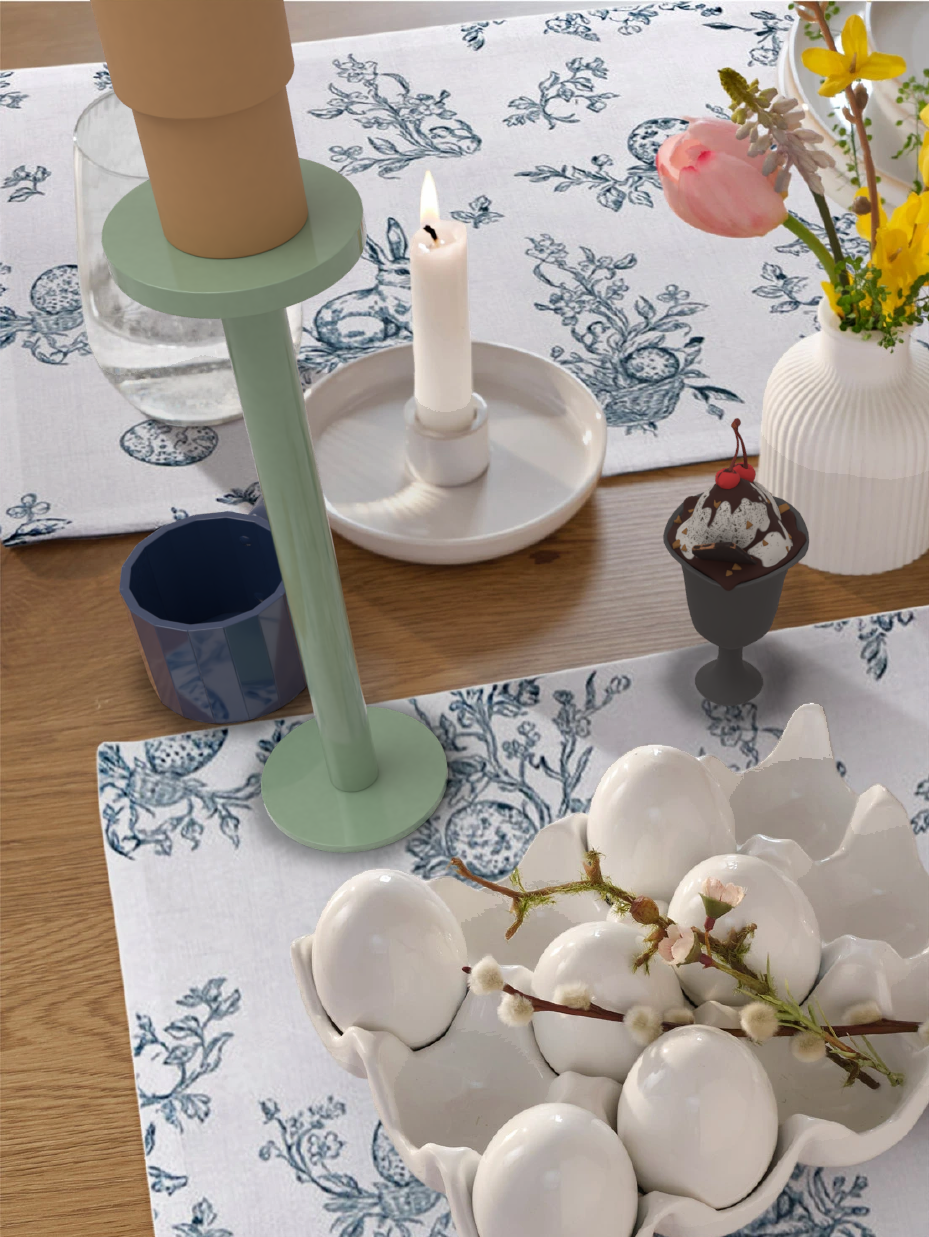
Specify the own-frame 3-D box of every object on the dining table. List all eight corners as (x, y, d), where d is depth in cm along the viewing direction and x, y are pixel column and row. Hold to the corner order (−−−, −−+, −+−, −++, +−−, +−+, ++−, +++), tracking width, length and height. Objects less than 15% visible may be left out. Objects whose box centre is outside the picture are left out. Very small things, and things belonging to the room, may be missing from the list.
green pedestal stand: (234, 839, 77) (53, 274, 54) (306, 706, 83) (169, 141, 59) (412, 876, 75) (304, 308, 52) (473, 737, 81) (399, 167, 58)
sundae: (737, 623, 85) (750, 382, 74) (820, 697, 82) (847, 456, 70) (636, 677, 83) (633, 437, 71) (717, 755, 79) (727, 516, 68)
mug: (281, 744, 81) (254, 643, 75) (125, 714, 83) (88, 613, 77) (365, 590, 88) (345, 487, 83) (220, 565, 90) (192, 463, 84)
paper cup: (118, 255, 55) (19, -94, 46) (192, 166, 58) (113, -173, 50) (282, 277, 53) (211, -78, 45) (348, 185, 57) (294, -160, 48)
